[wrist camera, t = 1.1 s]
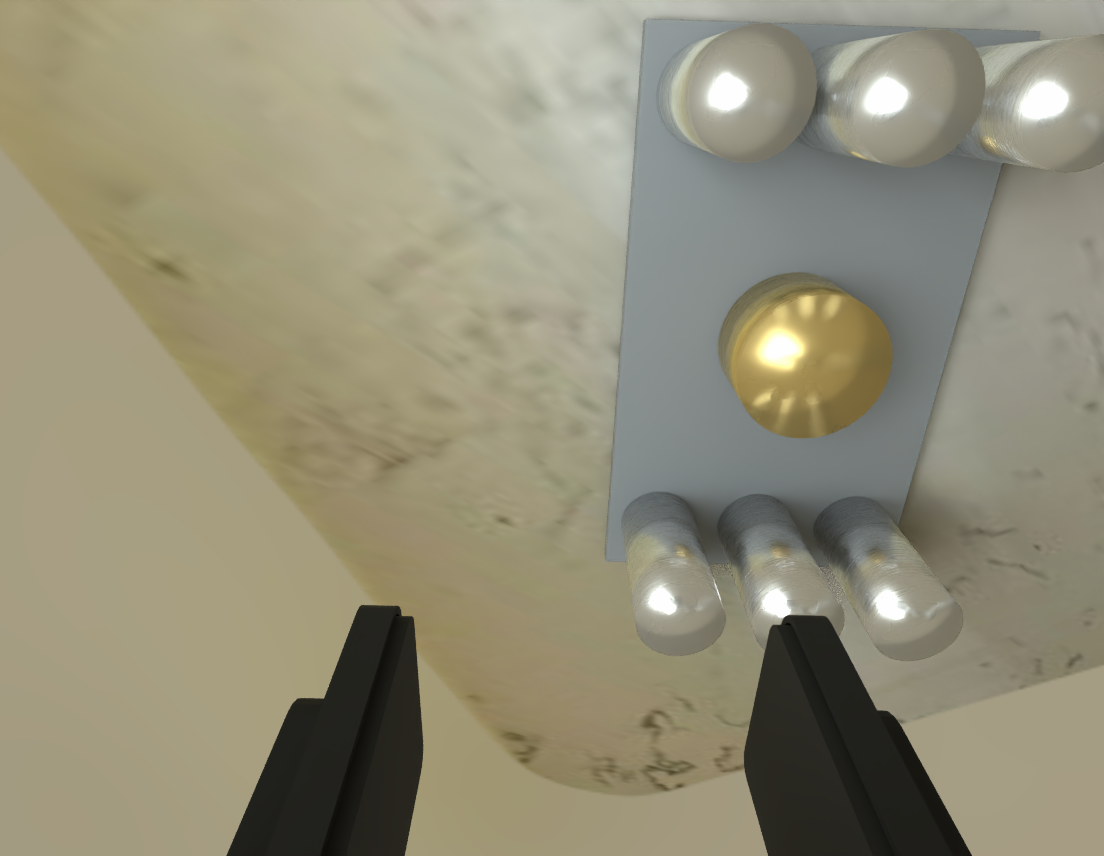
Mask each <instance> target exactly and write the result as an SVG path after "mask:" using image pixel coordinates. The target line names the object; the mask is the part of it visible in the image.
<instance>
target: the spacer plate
mask: <svg viewBox="0 0 1104 856" xmlns="http://www.w3.org/2000/svg"><path fill="white" fill-rule="evenodd" d="M753 23H757V22H726V21H694V20H662V19H645V20H644V22H643V36H642V50H641V63H640V77H639V91H638V105H637V118H636V132H635V146H634V159H633V173H632V187H631V201H630V214H629V228H628V242H627V255H626V269H625V283H624V297H623V310H622V324H621V338H620V352H619V365H618V379H617V393H616V406H615V420H614V434H613V448H612V461H611V475H610V489H609V502H608V516H607V530H606V544H605V559H606V561H612V562H626V557H625V550H624V544H623V537H622V531H621V518H622V515H623V512H624V510H625V509H626V507H627V506H628V505H629V504H630V503H631V502H632V501H633V500H635V499H636V498H638V497H639V496H641V495H644V494H647V493H651V492H668V493H672V494H675V495H677V496H679V497H680V498H682V499H683V500H684V501H685V502H686V503H687V504H688V505H689V507H690V508H691V511H692V513H693V516H694V519H695V522H696V525H697V528H698V531H699V534H700V538H701V541H702V544H703V547H704V550H705V553H706V556H707V559H708V562H709V564H728V561H727V558H726V555H725V553H724V550H723V547H722V545H721V542H720V539H719V537H718V533H717V524H718V520H719V517H720V515H721V513H722V512H723V511H724V509H725V508H726V507H727V506H728V505H729V504H730V503H732V502H733V501H735V500H737V499H739V498H741V497H743V496H747V495H752V494H764V495H769V496H772V497H774V498H776V499H778V500H779V501H781V502H782V503H783V504H784V505H785V507H786V508H787V510H788V512H789V513H790V515H791V517H792V519H793V521H794V522H795V524H796V526H797V528H798V530H799V531H800V533H801V535H802V537H803V538H804V540H805V542H806V544H807V546H808V547H809V549H810V551H811V553H812V555H813V556H814V558H815V560H816V562H817V564H818V565H819V566H826V567H829V565H828V563H827V562H826V560H825V558H824V556H823V555H822V553H821V551H820V550H819V548H818V546H817V544H816V543H815V540H814V537H813V527H814V524H815V521H816V519H817V517H818V516H819V514H820V513H821V512H822V511H823V510H824V509H825V508H826V507H827V506H829V505H830V504H832V503H833V502H835V501H837V500H840V499H843V498H847V497H855V496H859V497H866V498H869V499H872V500H874V501H875V502H877V503H878V504H879V505H880V506H881V507H882V508H883V509H884V511H885V512H886V513H887V515H888V516H889V517H890V518H891V520H892V521H893V522H894V523H895V525H896V526H897V527H898V526H899V522H900V519H901V515H902V512H903V508H904V505H905V501H906V498H907V494H908V491H909V487H910V484H911V480H912V477H913V473H914V470H915V466H916V463H917V460H918V456H919V453H920V449H921V446H922V442H923V439H924V435H925V432H926V428H927V425H928V421H929V418H930V414H931V411H932V407H933V404H934V400H935V397H936V393H937V390H938V386H939V383H940V379H941V376H942V373H943V369H944V366H945V362H946V359H947V355H948V352H949V348H950V345H951V341H952V338H953V334H954V331H955V327H956V324H957V320H958V317H959V313H960V310H961V306H962V303H963V299H964V296H965V292H966V289H967V285H968V282H969V279H970V275H971V272H972V268H973V265H974V261H975V258H976V254H977V251H978V247H979V244H980V240H981V237H982V233H983V230H984V226H985V223H986V219H987V216H988V212H989V209H990V205H991V202H992V198H993V195H994V191H995V188H996V185H997V181H998V178H999V174H1000V171H1001V167H1002V164H1003V163H1001V162H995V161H989V160H983V159H976V158H970V157H964V156H958V155H952V154H946V155H945V156H943V157H941V158H940V159H938V160H936V161H934V162H931V163H929V164H926V165H922V166H918V167H909V168H903V167H895V166H891V165H886V164H882V163H878V162H873V161H869V160H864V159H860V158H855V157H851V156H846V155H842V154H837V153H833V152H828V151H824V150H819V149H815V148H811V147H808V146H806V145H804V144H802V143H800V142H799V141H798V140H797V139H795V140H794V141H793V142H792V143H791V144H790V145H789V146H788V147H787V148H785V149H784V150H783V151H781V152H780V153H778V154H776V155H774V156H772V157H770V158H768V159H765V160H762V161H758V162H752V163H740V162H733V161H729V160H726V159H724V158H721V157H719V156H716V155H714V154H711V153H709V152H706V151H704V150H701V149H699V148H696V147H694V146H691V145H689V144H686V143H684V142H682V141H680V140H678V139H676V138H675V137H674V136H672V135H671V134H670V133H669V132H668V130H667V129H666V128H665V126H664V125H663V123H662V121H661V119H660V116H659V114H658V109H657V103H656V92H657V85H658V82H659V78H660V76H661V73H662V71H663V69H664V67H665V66H666V64H667V63H668V61H669V60H670V59H671V58H672V57H673V55H675V54H676V53H677V52H678V51H679V50H681V49H682V48H683V47H685V46H687V45H689V44H691V43H694V42H697V41H700V40H703V39H706V38H709V37H712V36H715V35H718V34H721V33H723V32H726V31H729V30H732V29H735V28H738V27H741V26H744V25H748V24H753ZM768 24H774V25H777V26H780V27H783V28H785V29H787V30H789V31H790V32H792V33H793V34H795V35H796V36H797V37H798V38H799V39H800V40H801V41H802V42H803V44H804V45H805V46H806V48H807V49H808V51H809V53H812V52H814V51H815V50H817V49H819V48H822V47H825V46H828V45H833V44H839V43H845V42H851V41H857V40H863V39H869V38H875V37H882V36H888V35H894V34H900V33H906V32H912V31H918V30H924V29H936V28H916V27H884V26H852V25H821V24H789V23H768ZM938 29H946V30H950V31H953V32H955V33H958V34H960V35H961V36H963V37H964V38H966V39H967V40H968V41H969V42H970V43H971V44H972V45H973V46H974V47H982V46H992V45H1002V44H1012V43H1021V42H1031V41H1038V38H1039V35H1040V31H1011V30H979V29H948V28H938ZM792 272H802V273H810V274H814V275H818V276H820V277H823V278H826V279H827V280H829V281H831V282H832V283H834V284H835V285H837V286H838V287H840V288H841V289H843V290H844V291H846V292H847V293H849V294H850V295H851V296H853V297H854V298H856V299H857V300H859V301H860V302H862V303H863V304H865V305H866V306H867V307H869V308H870V309H871V310H872V311H874V312H875V313H876V314H877V316H878V317H879V318H880V319H881V320H882V322H883V323H884V325H885V327H886V329H887V331H888V333H889V336H890V340H891V343H892V352H893V356H892V366H891V372H890V375H889V378H888V381H887V383H886V386H885V388H884V390H883V392H882V393H881V395H880V396H879V398H878V399H877V401H876V402H875V403H874V404H873V406H872V407H871V408H870V409H869V410H868V411H867V412H866V413H865V414H864V415H863V416H861V417H860V418H859V419H858V420H856V421H855V422H853V423H852V424H850V425H849V426H847V427H845V428H843V429H841V430H839V431H837V432H834V433H831V434H829V435H825V436H821V437H815V438H803V439H799V438H790V437H785V436H781V435H778V434H775V433H773V432H771V431H769V430H767V429H765V428H764V427H762V426H761V425H759V424H758V423H757V422H756V421H755V420H754V419H753V418H752V417H751V416H750V415H749V413H748V412H747V411H746V409H745V407H744V406H743V404H742V402H741V401H740V399H739V397H738V396H737V394H736V392H735V391H734V389H733V387H732V386H731V384H730V382H729V381H728V379H727V377H726V376H725V374H724V372H723V370H722V367H721V365H720V361H719V356H718V338H719V334H720V329H721V326H722V323H723V321H724V319H725V317H726V315H727V313H728V311H729V310H730V308H731V307H732V305H733V304H734V303H735V302H736V301H737V299H738V298H739V297H740V296H741V295H742V294H744V293H745V292H746V291H747V290H748V289H750V288H751V287H752V286H754V285H756V284H757V283H759V282H761V281H763V280H765V279H767V278H770V277H772V276H776V275H779V274H784V273H792Z"/></svg>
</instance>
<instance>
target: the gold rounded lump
mask: <svg viewBox="0 0 1104 856" xmlns="http://www.w3.org/2000/svg"><path fill="white" fill-rule="evenodd" d="M718 356H719V361H720V365H721V367H722V370H723V372H724V374H725V376H726V377H727V379H728V381H729V382H730V384H731V386H732V387H733V389H734V391H735V392H736V394H737V396H738V397H739V399H740V401H741V402H742V404H743V406H744V407H745V409H746V411H747V412H748V413H749V415H750V416H751V417H752V418H753V419H754V420H755V421H756V422H757V423H758V424H759V425H761V426H762V427H764V428H765V429H767V430H769V431H771V432H773V433H775V434H778V435H781V436H785V437H790V438H799V439H803V438H815V437H821V436H825V435H829V434H831V433H834V432H837V431H839V430H841V429H843V428H845V427H847V426H849V425H850V424H852V423H853V422H855V421H856V420H858V419H859V418H860V417H861V416H863V415H864V414H865V413H866V412H867V411H868V410H869V409H870V408H871V407H872V406H873V404H874V403H875V402H876V401H877V399H878V398H879V396H880V395H881V393H882V392H883V390H884V388H885V386H886V383H887V381H888V378H889V375H890V372H891V366H892V356H893V352H892V343H891V340H890V336H889V333H888V331H887V329H886V327H885V325H884V323H883V322H882V320H881V319H880V318H879V317H878V316H877V314H876V313H875V312H874V311H872V310H871V309H870V308H869V307H867V306H866V305H865V304H863V303H862V302H860V301H859V300H857V299H856V298H854V297H853V296H851V295H850V294H849V293H847V292H846V291H844V290H843V289H841V288H840V287H838V286H837V285H835V284H834V283H832V282H831V281H829V280H827V279H826V278H823V277H820V276H818V275H814V274H810V273H802V272H792V273H784V274H779V275H776V276H772V277H770V278H767V279H765V280H763V281H761V282H759V283H757V284H756V285H754V286H752V287H751V288H750V289H748V290H747V291H746V292H745V293H744V294H742V295H741V296H740V297H739V298H738V299H737V301H736V302H735V303H734V304H733V305H732V307H731V308H730V310H729V311H728V313H727V315H726V317H725V319H724V321H723V323H722V326H721V329H720V334H719V338H718Z"/></svg>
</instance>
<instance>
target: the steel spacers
mask: <svg viewBox="0 0 1104 856" xmlns="http://www.w3.org/2000/svg"><path fill="white" fill-rule="evenodd" d="M656 103H657V109H658V114H659V116H660V119H661V121H662V123H663V125H664V126H665V128H666V129H667V130H668V132H669V133H670V134H671V135H672V136H674V137H675V138H676V139H678V140H680V141H682V142H684V143H686V144H689V145H691V146H694V147H696V148H699V149H701V150H704V151H706V152H709V153H711V154H714V155H716V156H719V157H721V158H724V159H726V160H729V161H733V162H740V163H752V162H758V161H762V160H765V159H768V158H770V157H772V156H774V155H776V154H778V153H780V152H781V151H783V150H784V149H785V148H787V147H788V146H789V145H790V144H791V143H792V142H793V141H794V140H795V139H797V140H798V141H799V142H800V143H802V144H804V145H806V146H808V147H811V148H815V149H819V150H824V151H828V152H833V153H837V154H842V155H846V156H851V157H855V158H860V159H864V160H869V161H873V162H878V163H882V164H886V165H891V166H895V167H903V168H909V167H918V166H922V165H926V164H929V163H931V162H934V161H936V160H938V159H940V158H941V157H943V156H945V155H946V154H952V155H958V156H964V157H970V158H976V159H983V160H989V161H995V162H1001V163H1007V164H1014V165H1020V166H1026V167H1032V168H1038V169H1045V170H1051V171H1057V172H1077V171H1082V170H1086V169H1089V168H1092V167H1094V166H1096V165H1099V164H1100V163H1102V162H1104V34H1100V35H1090V36H1080V37H1070V38H1061V39H1051V40H1041V41H1031V42H1021V43H1012V44H1002V45H992V46H982V47H974V46H973V45H972V44H971V43H970V42H969V41H968V40H967V39H966V38H964V37H963V36H961V35H960V34H958V33H955V32H953V31H950V30H946V29H938V28H936V29H924V30H918V31H912V32H906V33H900V34H894V35H888V36H882V37H875V38H869V39H863V40H857V41H851V42H845V43H839V44H833V45H828V46H825V47H822V48H819V49H817V50H815V51H814V52H812V53H809V51H808V49H807V48H806V46H805V45H804V44H803V42H802V41H801V40H800V39H799V38H798V37H797V36H796V35H795V34H793V33H792V32H790V31H789V30H787V29H785V28H783V27H780V26H777V25H774V24H768V23H753V24H748V25H744V26H741V27H738V28H735V29H732V30H729V31H726V32H723V33H721V34H718V35H715V36H712V37H709V38H706V39H703V40H700V41H697V42H694V43H691V44H689V45H687V46H685V47H683V48H682V49H681V50H679V51H678V52H677V53H676V54H675V55H673V57H672V58H671V59H670V60H669V61H668V63H667V64H666V66H665V67H664V69H663V71H662V73H661V76H660V78H659V82H658V85H657V92H656ZM621 531H622V537H623V544H624V550H625V557H626V563H627V570H628V576H629V582H630V589H631V595H632V602H633V608H634V615H635V621H636V628H637V632H638V635H639V637H640V638H641V640H642V641H643V642H644V643H645V644H646V645H647V646H648V647H649V648H651V649H652V650H654V651H656V652H659V653H662V654H665V655H671V656H684V655H690V654H694V653H697V652H699V651H702V650H704V649H706V648H707V647H709V646H710V645H711V644H713V643H714V642H715V641H716V640H717V639H718V638H719V636H720V635H721V633H722V631H723V629H724V626H725V621H726V616H725V611H724V607H723V604H722V601H721V598H720V595H719V592H718V589H717V586H716V583H715V580H714V577H713V574H712V571H711V568H710V565H709V562H708V559H707V556H706V553H705V550H704V547H703V544H702V541H701V538H700V534H699V531H698V528H697V525H696V522H695V519H694V516H693V513H692V511H691V508H690V507H689V505H688V504H687V503H686V502H685V501H684V500H683V499H682V498H680V497H679V496H677V495H675V494H672V493H668V492H651V493H647V494H644V495H641V496H639V497H638V498H636V499H635V500H633V501H632V502H631V503H630V504H629V505H628V506H627V507H626V509H625V510H624V512H623V515H622V518H621ZM717 533H718V537H719V539H720V542H721V545H722V547H723V550H724V553H725V555H726V558H727V561H728V564H729V566H730V569H731V572H732V574H733V577H734V580H735V582H736V585H737V588H738V591H739V593H740V596H741V599H742V601H743V604H744V607H745V609H746V612H747V615H748V617H749V620H750V623H751V626H752V628H753V631H754V634H755V636H756V639H757V641H758V643H759V644H760V645H761V646H762V648H764V649H766V644H767V640H768V635H769V631H770V628H771V626H772V625H781V623H782V620H783V618H784V617H785V616H786V615H816V616H826V617H827V618H828V619H829V620H830V622H831V623H832V625H833V627H834V629H835V631H836V633H837V635H838V636H839V635H840V633H841V631H842V629H843V626H844V611H843V609H842V607H841V605H840V603H839V601H838V599H837V598H836V596H835V594H834V592H833V590H832V589H831V587H830V585H829V583H828V581H827V580H826V578H825V576H824V574H823V573H822V571H821V569H820V567H819V565H818V564H817V562H816V560H815V558H814V556H813V555H812V553H811V551H810V549H809V547H808V546H807V544H806V542H805V540H804V538H803V537H802V535H801V533H800V531H799V530H798V528H797V526H796V524H795V522H794V521H793V519H792V517H791V515H790V513H789V512H788V510H787V508H786V507H785V505H784V504H783V503H782V502H781V501H779V500H778V499H776V498H774V497H772V496H769V495H764V494H752V495H747V496H743V497H741V498H739V499H737V500H735V501H733V502H732V503H730V504H729V505H728V506H727V507H726V508H725V509H724V511H723V512H722V513H721V515H720V517H719V520H718V524H717ZM813 537H814V540H815V543H816V544H817V546H818V548H819V550H820V551H821V553H822V555H823V556H824V558H825V560H826V562H827V563H828V565H829V567H830V569H831V570H832V572H833V574H834V575H835V577H836V579H837V581H838V582H839V584H840V586H841V588H842V589H843V591H844V593H845V594H846V596H847V598H848V600H849V601H850V603H851V605H852V607H853V608H854V610H855V612H856V613H857V615H858V617H859V619H860V620H861V622H862V624H863V625H864V627H865V629H866V631H867V632H868V634H869V636H870V638H871V639H872V641H873V643H874V644H875V646H876V648H877V649H878V650H879V651H880V652H881V653H882V654H884V655H885V656H887V657H889V658H892V659H895V660H901V661H914V660H921V659H925V658H928V657H931V656H933V655H935V654H937V653H939V652H941V651H942V650H944V649H945V648H947V647H948V646H949V645H950V644H951V643H952V642H953V641H954V640H955V639H956V638H957V636H958V634H959V633H960V631H961V628H962V625H963V613H962V610H961V608H960V606H959V605H958V603H957V602H956V601H955V600H954V598H953V597H952V596H951V594H950V593H949V592H948V591H947V589H946V588H945V587H944V586H943V584H942V583H941V582H940V580H939V579H938V578H937V577H936V575H935V574H934V573H933V572H932V570H931V569H930V568H929V567H928V565H927V564H926V563H925V561H924V560H923V559H922V558H921V556H920V555H919V554H918V553H917V551H916V550H915V549H914V548H913V546H912V545H911V544H910V542H909V541H908V540H907V539H906V537H905V536H904V535H903V534H902V532H901V531H900V530H899V528H898V527H897V526H896V525H895V523H894V522H893V521H892V520H891V518H890V517H889V516H888V515H887V513H886V512H885V511H884V509H883V508H882V507H881V506H880V505H879V504H878V503H877V502H875V501H874V500H872V499H869V498H866V497H859V496H855V497H847V498H843V499H840V500H837V501H835V502H833V503H832V504H830V505H829V506H827V507H826V508H825V509H824V510H823V511H822V512H821V513H820V514H819V516H818V517H817V519H816V521H815V524H814V527H813Z"/></svg>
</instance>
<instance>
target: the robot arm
mask: <svg viewBox="0 0 1104 856" xmlns="http://www.w3.org/2000/svg"><path fill="white" fill-rule="evenodd" d="M422 760H423V735H422V722H421V707H420V694H419V680H418V667H417V653H416V640H415V626H414V619H413V617H412V616H402V615H401V609H400V607H399V606H377V605H361V606H360V607H359V609H358V611H357V613H356V616H355V618H354V621H353V624H352V626H351V629H350V631H349V634H348V637H347V639H346V642H345V645H344V648H343V650H342V653H341V655H340V658H339V661H338V663H337V666H336V669H335V671H334V674H333V676H332V679H331V682H330V684H329V687H328V690H327V693H326V695H325V698H324V699H315V698H300V699H297V700H296V701H295V702H294V703H293V704H292V706H291V707H290V709H289V711H288V713H287V715H286V718H285V720H284V722H283V725H282V727H281V729H280V732H279V734H278V736H277V739H276V741H275V743H274V746H273V748H272V750H271V753H270V755H269V757H268V760H267V762H266V764H265V767H264V769H263V772H262V774H261V776H260V779H259V781H258V783H257V785H256V788H255V791H254V793H253V795H252V797H251V800H250V802H249V804H248V807H247V809H246V811H245V814H244V816H243V818H242V821H241V823H240V825H239V828H238V830H237V832H236V835H235V837H234V839H233V842H232V844H231V846H230V849H229V851H228V854H227V856H405V851H406V845H407V841H408V836H409V831H410V825H411V820H412V815H413V810H414V804H415V800H416V795H417V789H418V784H419V779H420V774H421V768H422ZM744 767H745V773H746V778H747V782H748V785H749V789H750V792H751V796H752V800H753V803H754V807H755V810H756V814H757V817H758V821H759V825H760V828H761V832H762V835H763V839H764V842H765V846H766V850H767V853H768V856H972V855H971V853H970V851H969V849H968V848H967V846H966V844H965V842H964V840H963V838H962V837H961V835H960V833H959V831H958V829H957V828H956V826H955V824H954V822H953V820H952V818H951V817H950V815H949V813H948V811H947V809H946V808H945V806H944V804H943V802H942V800H941V798H940V796H939V795H938V793H937V791H936V789H935V787H934V785H933V784H932V782H931V780H930V778H929V776H928V775H927V773H926V771H925V769H924V767H923V766H922V763H921V762H920V760H919V758H918V756H917V754H916V753H915V751H914V749H913V747H912V745H911V743H910V742H909V740H908V738H907V736H906V734H905V733H904V731H903V729H902V727H901V725H900V724H899V723H898V721H897V720H896V718H895V717H894V716H893V715H892V714H890V713H889V712H888V711H878V710H876V708H875V706H874V704H873V702H872V700H871V698H870V696H869V694H868V692H867V690H866V688H865V687H864V685H863V683H862V681H861V679H860V677H859V675H858V673H857V671H856V669H855V667H854V665H853V664H852V662H851V660H850V658H849V656H848V654H847V652H846V650H845V648H844V646H843V644H842V642H841V641H840V639H839V637H838V635H837V633H836V631H835V629H834V627H833V625H832V623H831V622H830V620H829V619H828V618H827V617H826V616H816V615H786V616H785V617H784V618H783V620H782V623H781V625H772V626H771V628H770V631H769V635H768V640H767V644H766V649H765V654H764V659H763V664H762V668H761V673H760V678H759V683H758V688H757V692H756V697H755V702H754V707H753V712H752V716H751V721H750V726H749V731H748V736H747V740H746V745H745V751H744Z"/></svg>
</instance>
